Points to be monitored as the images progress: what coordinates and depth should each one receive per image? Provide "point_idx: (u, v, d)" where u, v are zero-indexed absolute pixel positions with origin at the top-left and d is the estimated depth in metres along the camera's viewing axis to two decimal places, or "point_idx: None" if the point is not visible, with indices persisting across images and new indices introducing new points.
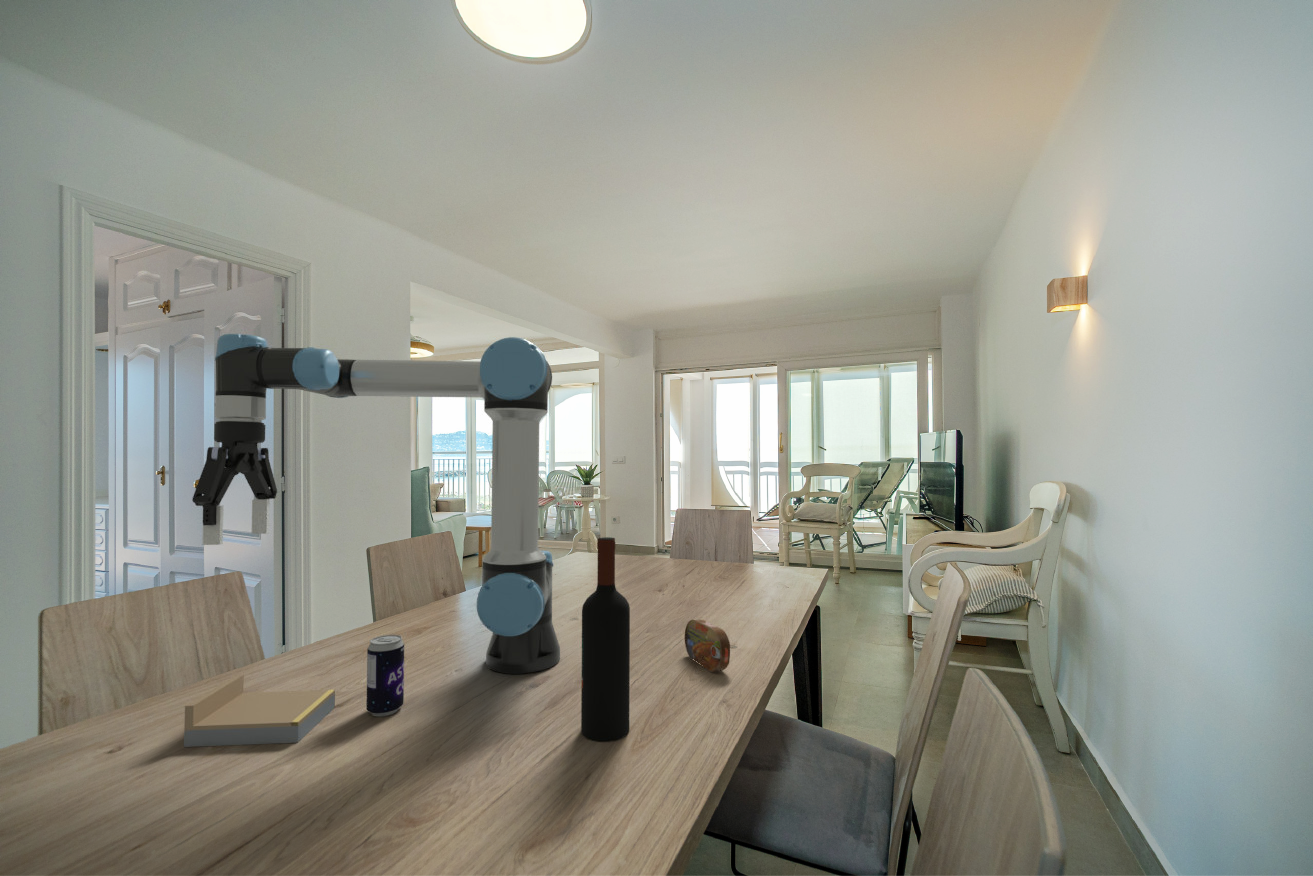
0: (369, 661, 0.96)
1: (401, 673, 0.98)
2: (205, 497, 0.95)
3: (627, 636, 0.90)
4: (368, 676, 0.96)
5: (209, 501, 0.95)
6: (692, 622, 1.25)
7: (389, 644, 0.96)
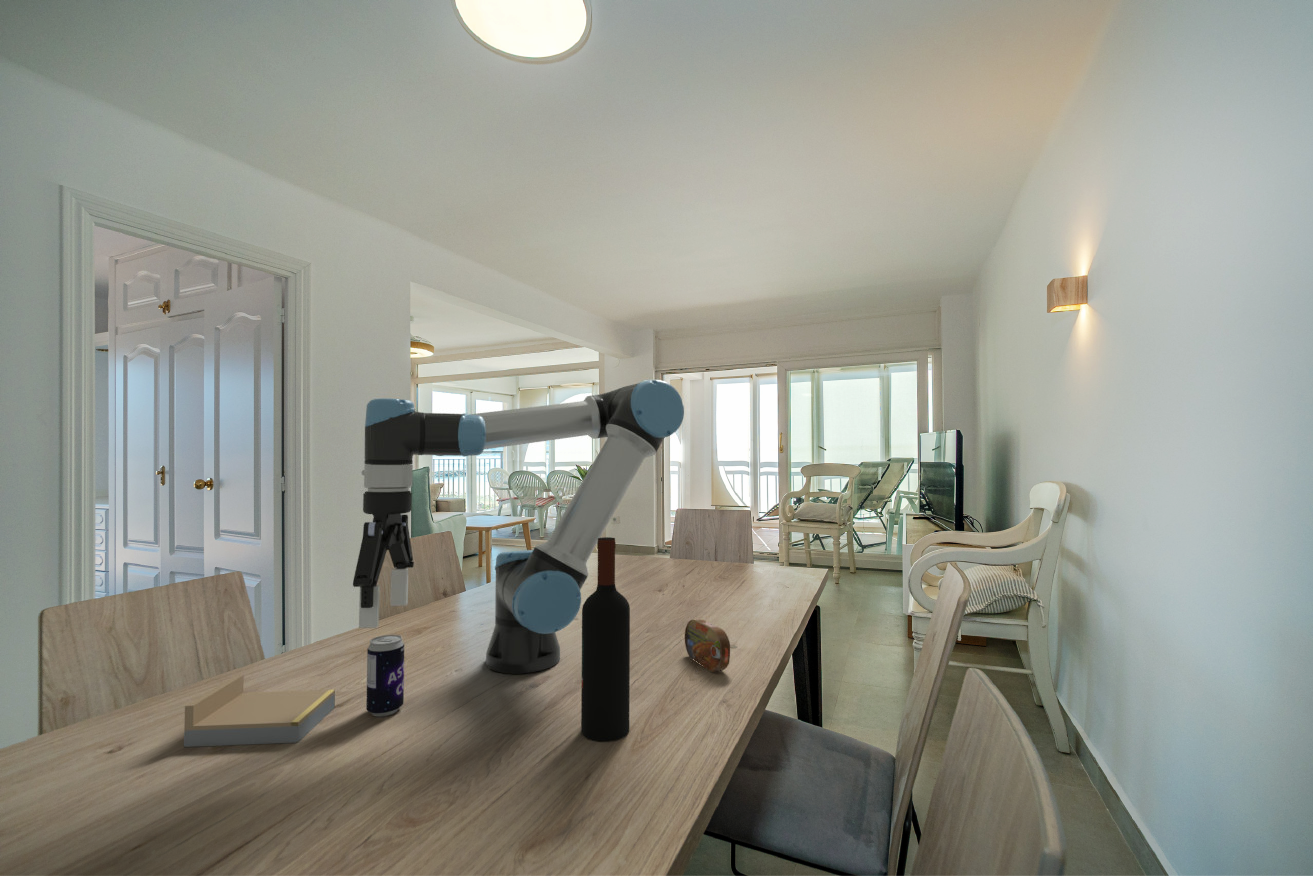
0: (369, 661, 0.96)
1: (401, 673, 0.98)
2: (366, 579, 0.89)
3: (627, 636, 0.90)
4: (368, 676, 0.96)
5: (370, 583, 0.89)
6: (692, 622, 1.25)
7: (389, 644, 0.96)
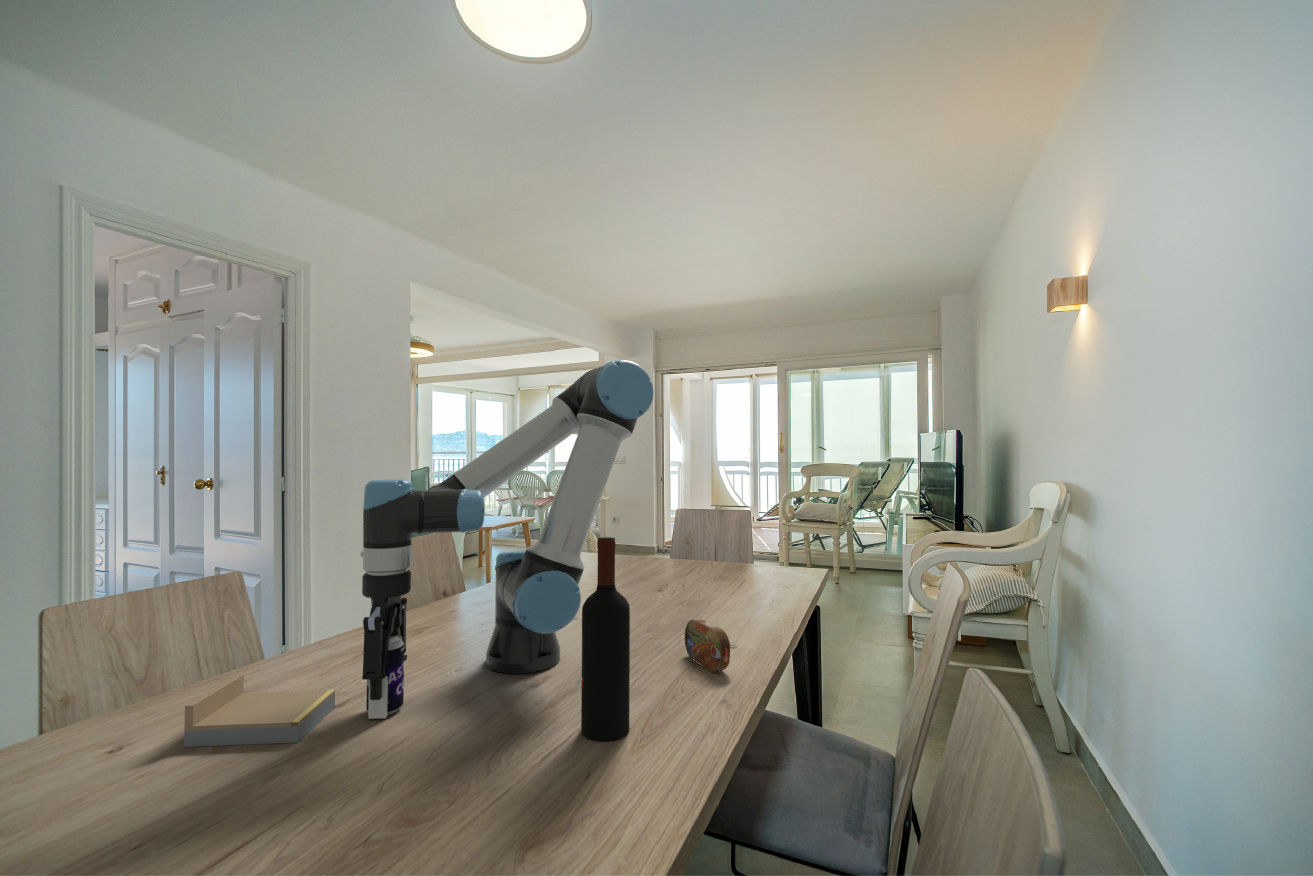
0: None
1: (401, 673, 0.98)
2: (375, 674, 0.92)
3: (627, 636, 0.90)
4: None
5: (379, 678, 0.92)
6: (692, 622, 1.25)
7: (389, 644, 0.96)
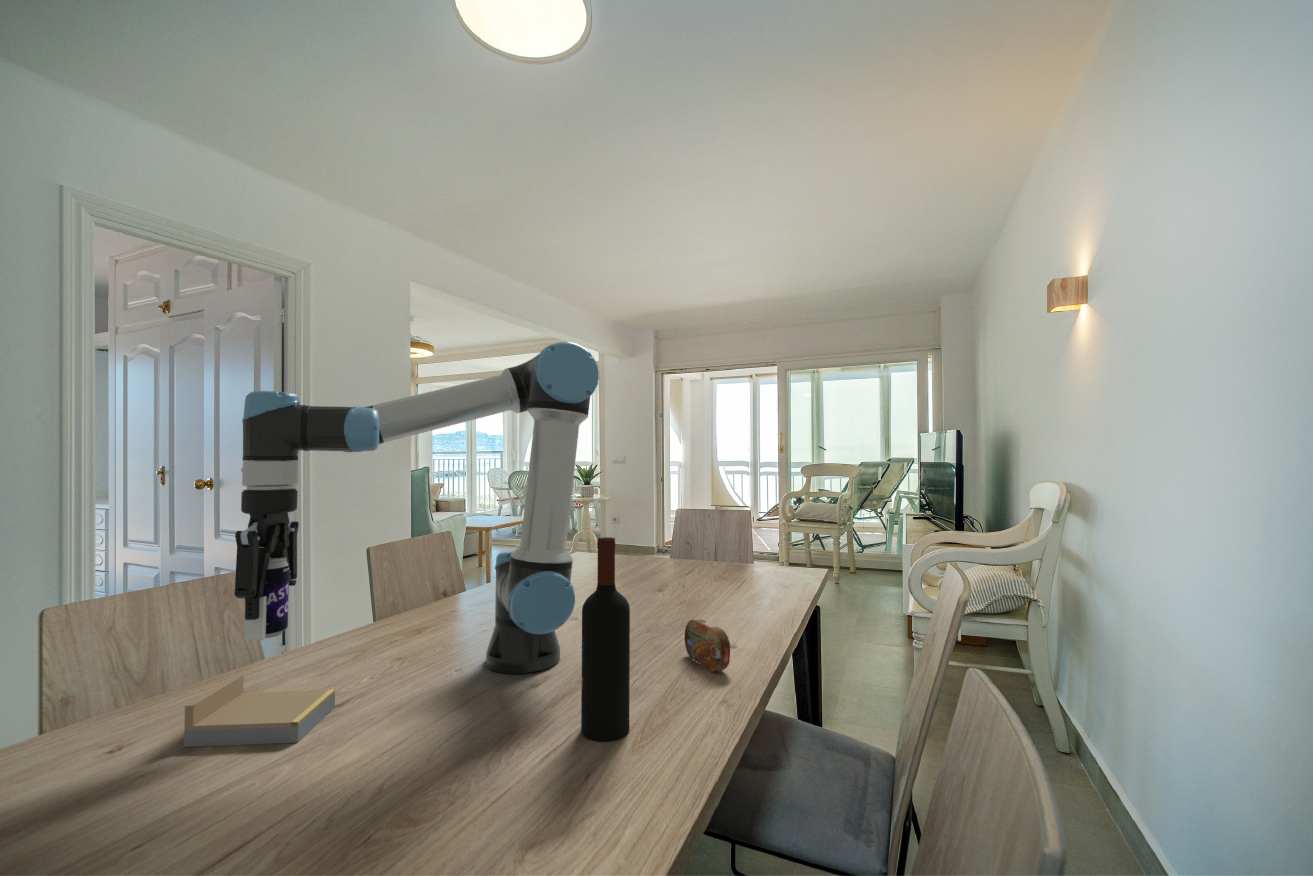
0: None
1: (283, 594, 0.93)
2: (248, 591, 0.87)
3: (627, 636, 0.90)
4: None
5: (253, 595, 0.87)
6: (692, 622, 1.25)
7: (269, 563, 0.91)
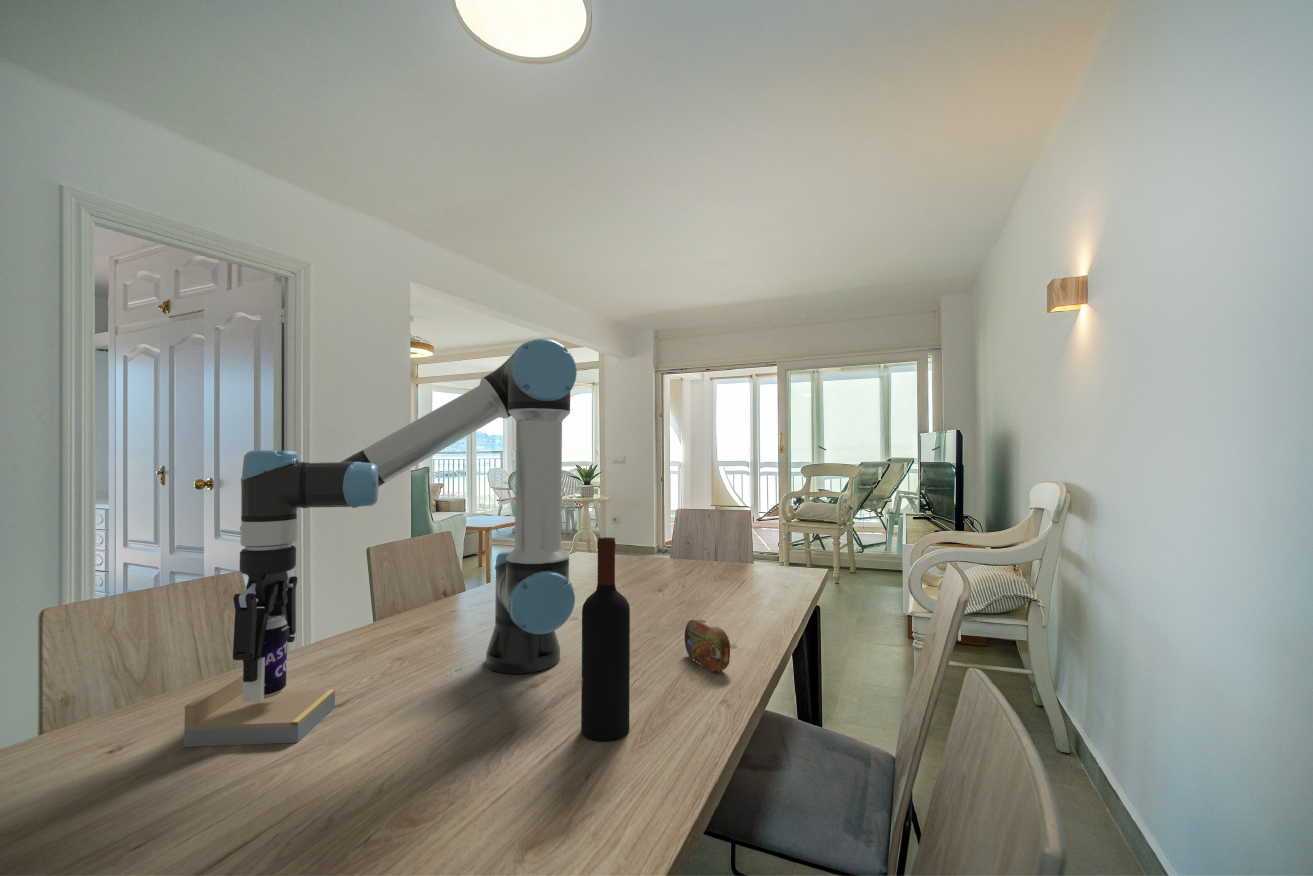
0: None
1: (281, 654, 0.92)
2: (246, 654, 0.86)
3: (627, 636, 0.90)
4: None
5: (251, 658, 0.87)
6: (692, 622, 1.25)
7: (267, 623, 0.91)
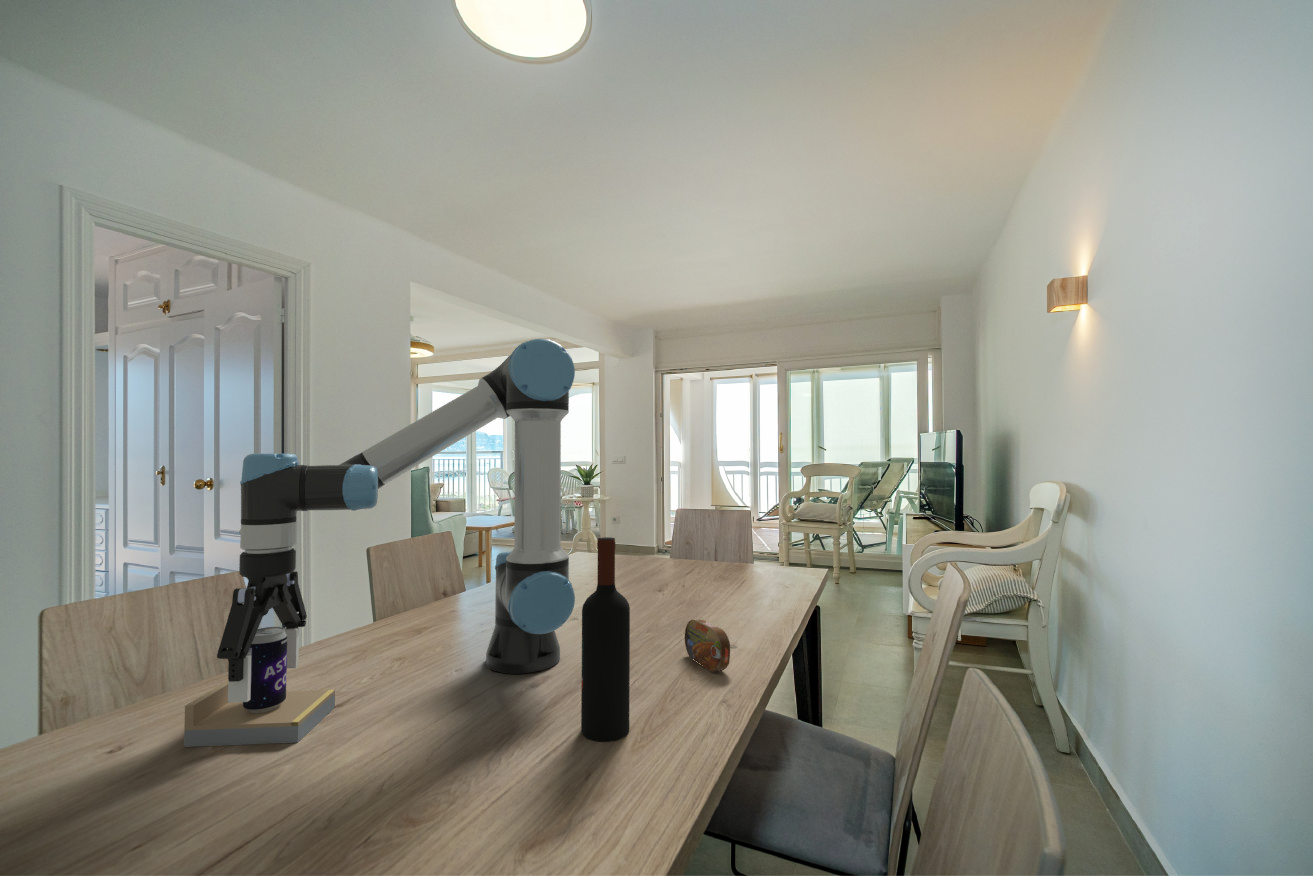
0: None
1: (281, 667, 0.92)
2: (231, 652, 0.83)
3: (627, 636, 0.90)
4: None
5: (236, 656, 0.83)
6: (692, 622, 1.25)
7: (267, 636, 0.91)
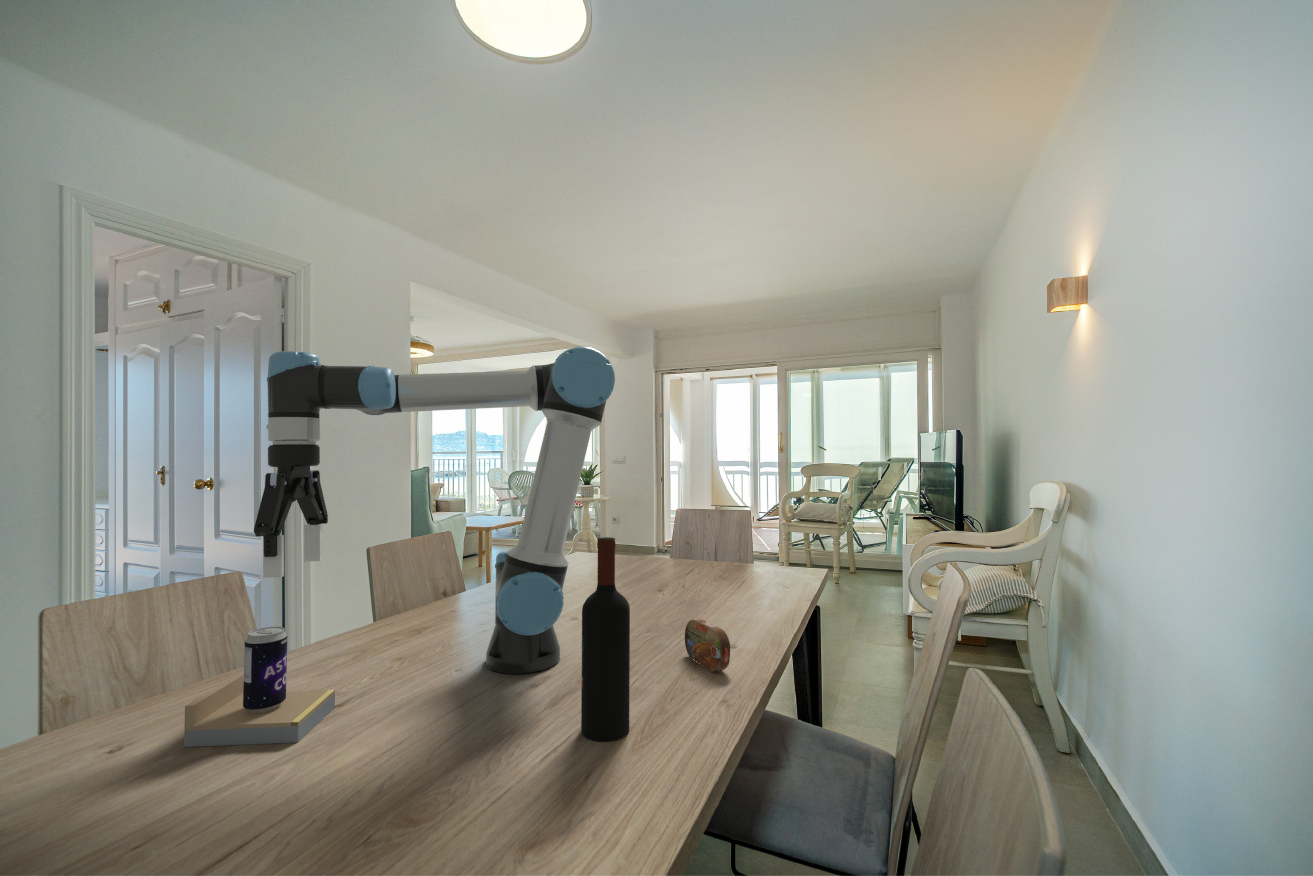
0: (245, 654, 0.90)
1: (281, 667, 0.92)
2: (267, 527, 0.89)
3: (627, 636, 0.90)
4: (244, 670, 0.90)
5: (271, 531, 0.89)
6: (692, 622, 1.25)
7: (267, 636, 0.91)
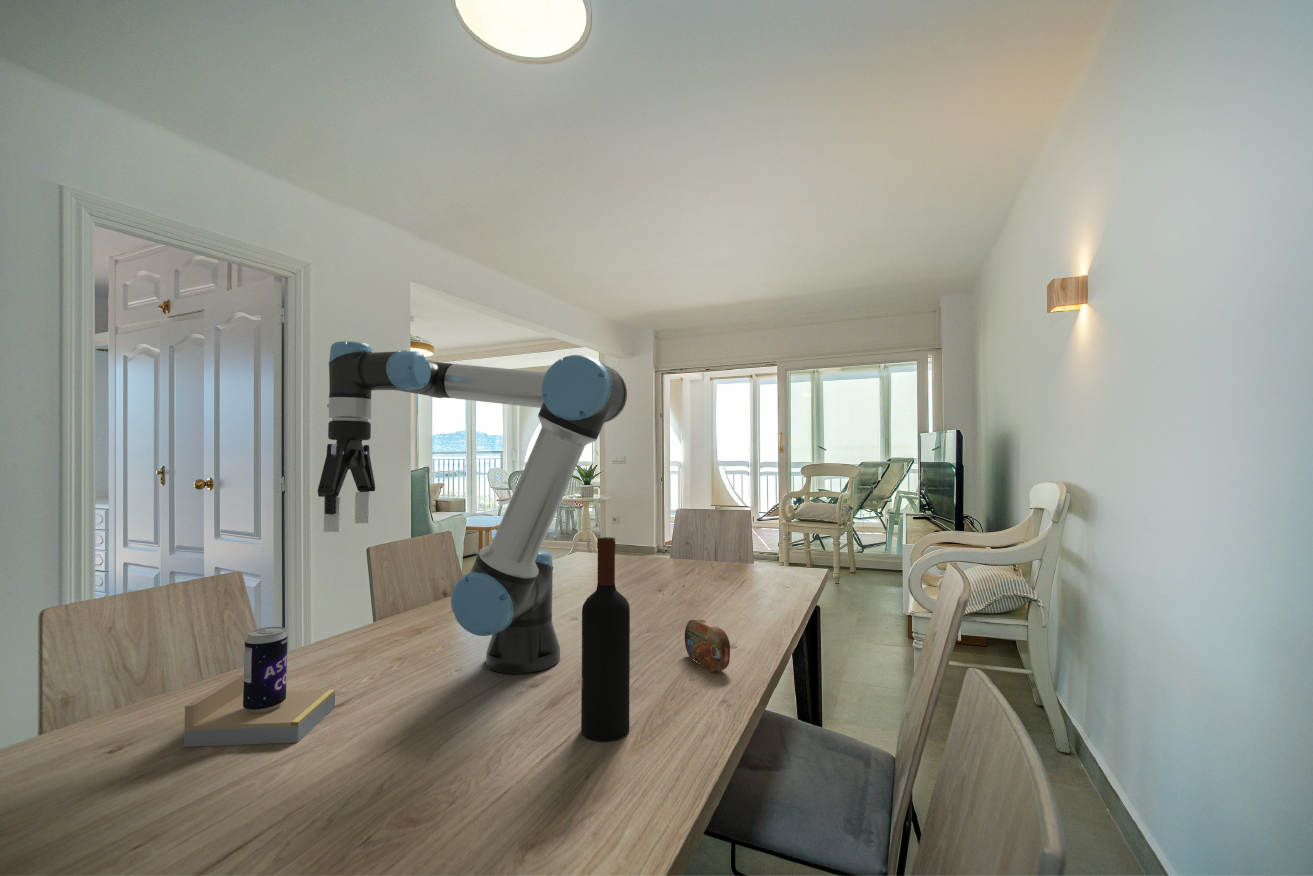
0: (245, 654, 0.90)
1: (281, 667, 0.92)
2: (329, 489, 1.06)
3: (627, 636, 0.90)
4: (244, 670, 0.90)
5: (332, 492, 1.06)
6: (692, 622, 1.25)
7: (267, 636, 0.91)
